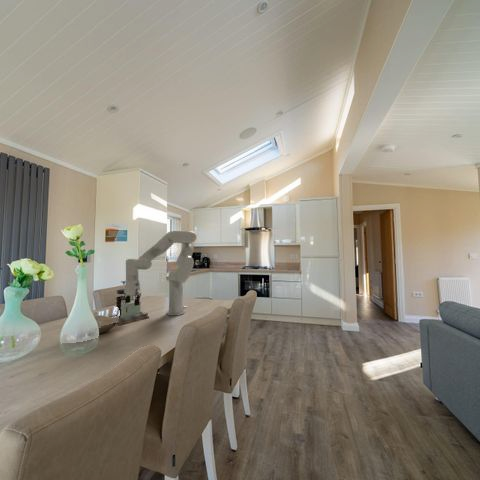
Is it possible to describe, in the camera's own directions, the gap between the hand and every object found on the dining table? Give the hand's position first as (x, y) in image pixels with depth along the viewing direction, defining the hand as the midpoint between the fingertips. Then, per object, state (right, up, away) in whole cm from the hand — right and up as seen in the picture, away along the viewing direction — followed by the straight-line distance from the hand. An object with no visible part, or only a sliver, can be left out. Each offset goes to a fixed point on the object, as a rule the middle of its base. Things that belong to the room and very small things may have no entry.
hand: (132, 304), depth 157 cm
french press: (-12, -11, +12) cm, 20 cm away
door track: (-1, -10, -1) cm, 10 cm away
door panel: (-1, -9, -1) cm, 9 cm away
